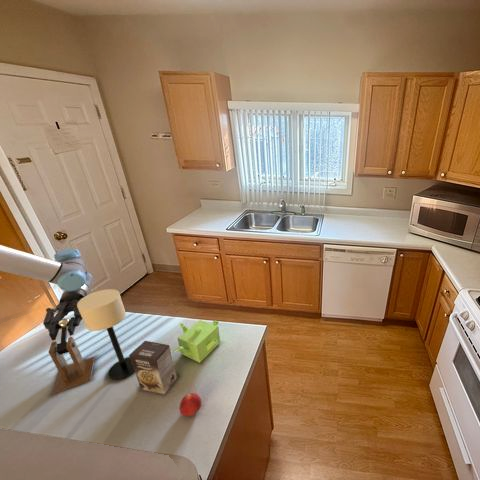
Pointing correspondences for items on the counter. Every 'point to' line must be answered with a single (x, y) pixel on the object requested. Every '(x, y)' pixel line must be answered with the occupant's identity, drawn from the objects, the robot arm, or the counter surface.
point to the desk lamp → (107, 324)
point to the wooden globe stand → (71, 367)
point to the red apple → (190, 404)
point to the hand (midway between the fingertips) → (61, 334)
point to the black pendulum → (63, 336)
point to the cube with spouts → (198, 340)
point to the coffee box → (153, 366)
